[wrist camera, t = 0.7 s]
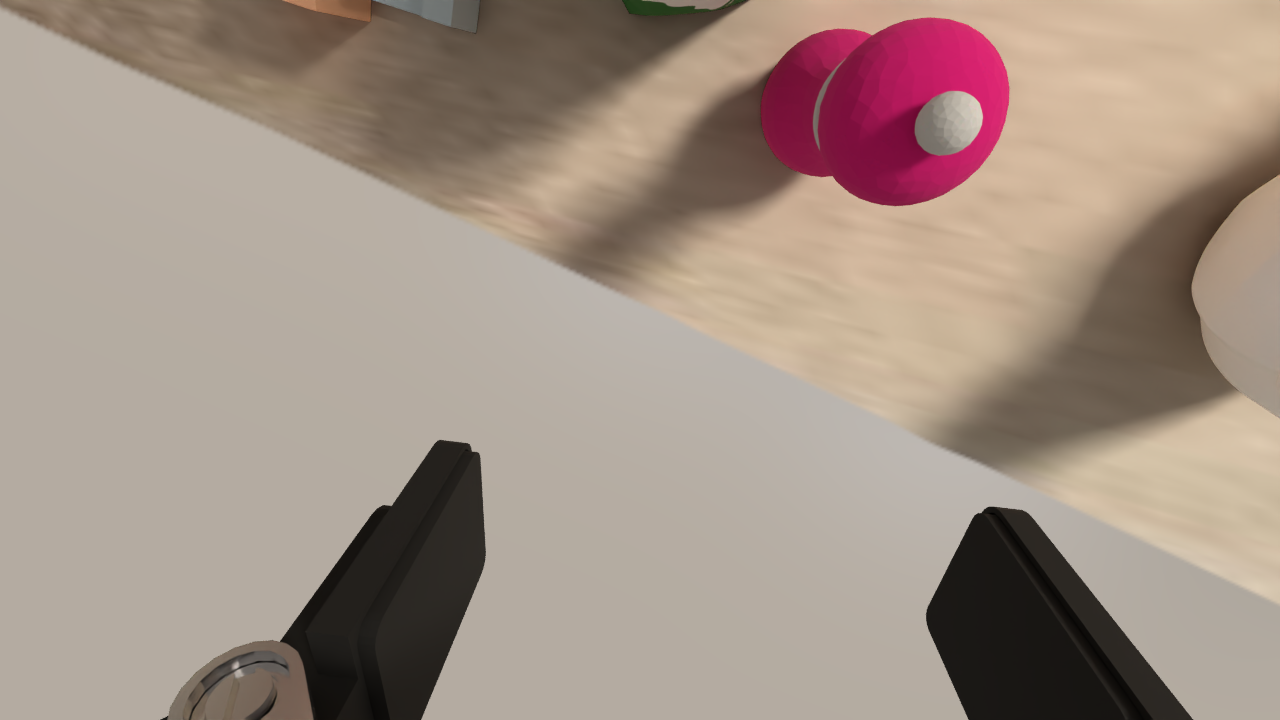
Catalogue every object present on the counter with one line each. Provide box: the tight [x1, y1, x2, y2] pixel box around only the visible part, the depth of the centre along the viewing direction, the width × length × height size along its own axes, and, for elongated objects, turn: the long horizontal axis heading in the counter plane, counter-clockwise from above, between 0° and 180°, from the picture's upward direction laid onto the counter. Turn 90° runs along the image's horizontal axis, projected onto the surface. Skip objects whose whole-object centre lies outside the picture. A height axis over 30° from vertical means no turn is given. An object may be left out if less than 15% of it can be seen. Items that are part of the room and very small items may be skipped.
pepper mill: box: [761, 18, 1009, 206], centre depth 24 cm, size 7×7×20 cm
